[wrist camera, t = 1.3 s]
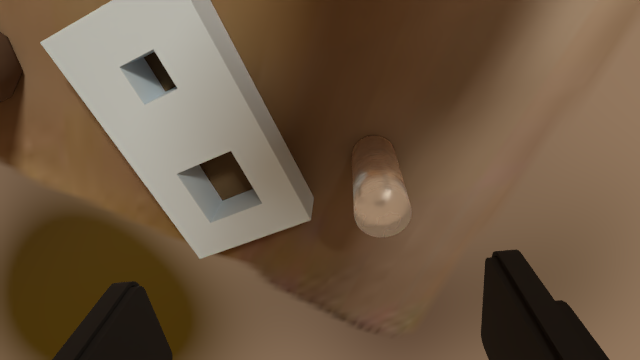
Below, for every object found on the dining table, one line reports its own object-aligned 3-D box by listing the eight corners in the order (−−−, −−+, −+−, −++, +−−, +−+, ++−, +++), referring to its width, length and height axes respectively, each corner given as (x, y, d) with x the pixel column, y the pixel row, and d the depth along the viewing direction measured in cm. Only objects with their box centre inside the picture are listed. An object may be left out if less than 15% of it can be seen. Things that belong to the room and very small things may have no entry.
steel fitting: (386, 128, 34) (400, 181, 25) (400, 165, 36) (419, 227, 27) (345, 144, 35) (345, 200, 26) (361, 180, 37) (366, 244, 28)
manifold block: (192, -33, 29) (171, -35, 26) (314, 197, 38) (310, 220, 34) (73, 35, 32) (39, 42, 28) (212, 234, 41) (199, 259, 37)
